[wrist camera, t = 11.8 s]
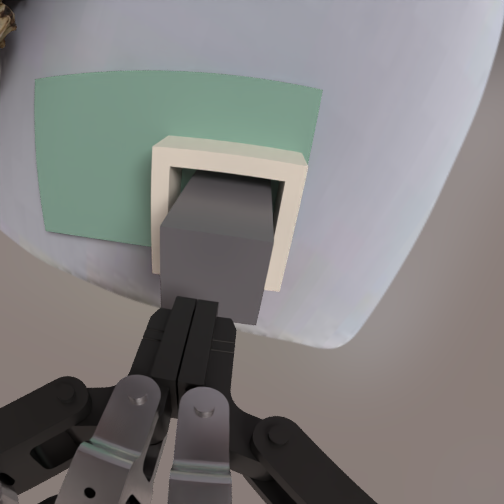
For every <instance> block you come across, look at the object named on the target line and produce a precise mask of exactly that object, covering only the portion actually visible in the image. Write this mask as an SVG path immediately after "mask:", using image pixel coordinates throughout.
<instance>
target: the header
mask: <svg viewBox="0 0 504 504" xmlns="http://www.w3.org/2000/svg"><path fill="white" fill-rule="evenodd" d="M182 168H191V169H199V170H208V171H216V172H224V173H232V174H239V175H246V176H253V177H260V178H266V179H273V180H279V185H278V191H277V196H276V201H275V207H274V212H273V231H274V245H273V250H272V255H271V259H270V264H269V269H268V273H267V278H266V282H265V287H264V290H270V291H278V292H279V291H280V287H281V283H282V279H283V275H284V271H285V267H286V263H287V258H288V254H289V250H290V246H291V242H292V237H293V233H294V229H295V224H296V220H297V216H298V211H299V207H300V202H301V198H302V193H303V189H304V184H305V180H306V175H307V170H308V165H307V163H306V161H305V159H304V156H303V154H302V153H300V152H295V151H289V150H283V149H277V148H271V147H265V146H258V145H251V144H244V143H236V142H229V141H220V140H212V139H202V138H192V137H181V136H169V135H168V136H167V137H165V138H164V139H162V140H161V141H160V142H158V143H157V144H155V145H154V146H152V170H151V248H152V273H153V274H159V275H160V225H161V224H162V222H163V220H164V219H165V217H166V216H167V214H168V212H169V211H170V209H171V208H172V206H173V205H174V203H175V202H176V200H177V198H178V197H179V195H180V194H181V177H182Z"/></svg>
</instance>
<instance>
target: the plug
mask: <svg viewBox="0 0 504 504" xmlns="http://www.w3.org/2000/svg"><path fill="white" fill-rule="evenodd" d="M273 245H274V231H273V212H272V194H271V179H266V178H260V177H253V176H246V175H239V174H232V173H224V172H216V171H208V170H199V169H197V170H196V172H195V173H194V174H193V176H192V177H191V179H190V180H189V182H188V183H187V185H186V186H185V188H184V189H183V191H182V192H181V194H180V195H179V197H178V198H177V200H176V202H175V203H174V205H173V206H172V208H171V209H170V211H169V212H168V214H167V216H166V217H165V219H164V220H163V222H162V224H161V225H160V283H161V308H166V309H172V307H173V305H174V302H175V299H176V297H177V296H182V297H188V298H195V299H197V301H198V299H202V300H208V301H215V302H219V307H218V316H217V317H224V318H231V319H232V321H233V322H235V323H242V324H249V325H256V323H257V318H258V314H259V310H260V305H261V301H262V296H263V291H264V287H265V282H266V278H267V273H268V269H269V264H270V259H271V255H272V250H273Z"/></svg>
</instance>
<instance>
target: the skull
mask: <svg viewBox="0 0 504 504" xmlns="http://www.w3.org/2000/svg"><path fill="white" fill-rule="evenodd" d="M1 1H2V0H0V48H2V49H3V48H4V47H5V40H4V38H5V37H6V35H8V34H9V33H10V32H11V31H14V30H16V28H17V26H16V24H15V14H14V13H13V12H12V10H11V9H10V8H9V7H8V6H7V5H5V4H3V3H2V2H1Z"/></svg>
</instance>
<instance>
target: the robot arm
mask: <svg viewBox="0 0 504 504" xmlns="http://www.w3.org/2000/svg"><path fill="white" fill-rule="evenodd" d="M218 307H219V302H215V301H208V300H202V299H198V301H197V299H195V298H188V297H182V296H177V297H176V299H175V302H174V305H173V307H172V309H166V308H160V309H159V310H157V311H156V312H155V313H154V314H153V315H152V316H151V318H150V320H149V323H148V325H147V329H146V331H145V333H144V336H143V339H142V341H141V344H140V346H139V349H138V351H137V354H136V357H135V359H134V362H133V365H132V367H131V370H130V372H129V374H128V376H127V377H125V378H123V379H121V380H120V381H119V382H118V383H117V385H115V386H112V387H106V388H86V386H85V384H84V383H83V382H82V381H80V380H79V379H77V378H75V377H70V376H66V377H61V378H58V379H56V380H54V381H52V382H50V383H48V384H46V385H44V386H43V387H41V388H39V389H37V390H35V391H33V392H31V393H29V394H27V395H25V396H23V397H21V398H19V399H17V400H16V401H13V402H12V403H10V404H8V405H6V406H4V407H2V408H0V504H19V502H18V496H17V495H19V494H21V493H23V492H25V491H27V490H29V489H31V488H33V487H35V486H37V485H38V484H40V483H42V482H44V481H46V480H48V479H50V478H51V477H53V476H55V475H57V474H59V473H61V472H62V471H64V470H66V469H68V468H69V469H68V472H67V474H66V476H65V479H64V481H63V484H62V486H61V489H60V492H59V494H58V495H55V496H52V497H49V498H47V499H46V500H44V501H42V502H40V503H38V504H151V500H152V495H153V483H154V479H155V476H156V472H157V469H158V466H159V462H160V459H161V456H162V452H163V449H164V446H165V443H166V439H167V432H168V428H169V423H170V418H177V419H178V422H177V430H176V431H177V432H176V440H175V450H174V460H173V466H172V468H171V472H170V480H169V491H168V504H232V480H231V472H230V469H231V470H233V471H236V472H238V473H240V474H242V475H243V476H244V478H245V479H246V480H247V481H248V483H249V484H250V485H251V486H252V487H253V489H254V490H255V491H256V492H257V493H258V494H259V495H260V497H261V498H262V499H263V500H264V501H265V502H266V503H267V504H377V503H376V502H375V501H374V500H373V499H372V498H371V497H369V496H368V495H367V494H366V493H365V492H364V491H363V490H362V489H361V488H360V487H359V486H357V485H356V483H355V482H353V481H352V480H351V479H350V478H349V477H348V476H347V475H346V474H345V473H344V472H343V471H342V470H341V469H340V468H339V467H338V466H337V465H336V464H335V463H334V462H333V461H332V460H331V459H330V458H329V457H328V456H327V455H326V454H325V453H324V452H323V451H322V450H321V449H320V448H319V447H318V446H317V445H316V444H315V443H314V442H313V441H312V440H311V439H310V438H309V437H308V436H307V435H306V434H305V433H304V432H303V431H302V429H300V427H299V426H298V425H297V424H296V423H294V422H293V421H291V420H290V419H287V418H285V417H280V416H273V417H268V418H265V419H263V420H262V419H260V418H257V417H255V416H252V415H250V414H247V413H245V412H243V411H242V410H241V409H239V408H238V407H237V406H236V404H235V403H234V401H233V400H232V397H231V393H230V388H231V378H232V368H233V358H234V348H235V339H236V328H235V326H234V323H233V321H232V319H231V318H224V317H217V316H218Z"/></svg>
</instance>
